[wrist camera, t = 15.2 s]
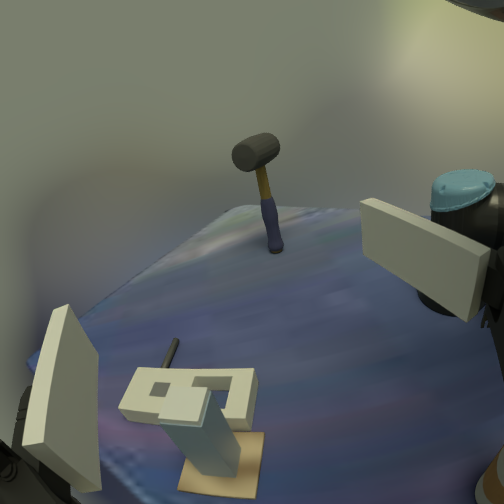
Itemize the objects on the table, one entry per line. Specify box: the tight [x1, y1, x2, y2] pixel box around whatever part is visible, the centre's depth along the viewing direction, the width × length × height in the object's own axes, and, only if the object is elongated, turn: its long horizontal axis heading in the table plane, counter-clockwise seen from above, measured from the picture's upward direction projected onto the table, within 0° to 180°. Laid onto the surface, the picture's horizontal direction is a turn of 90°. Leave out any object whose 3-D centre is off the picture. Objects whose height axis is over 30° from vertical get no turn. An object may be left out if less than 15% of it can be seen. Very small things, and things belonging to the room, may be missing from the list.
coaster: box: [177, 432, 265, 499], centre depth 35 cm, size 10×10×1 cm
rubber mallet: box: [232, 133, 284, 253], centre depth 77 cm, size 12×8×30 cm, turn 152°
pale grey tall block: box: [158, 386, 241, 478], centre depth 31 cm, size 4×4×14 cm
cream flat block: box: [118, 338, 259, 431], centre depth 48 cm, size 19×20×4 cm
